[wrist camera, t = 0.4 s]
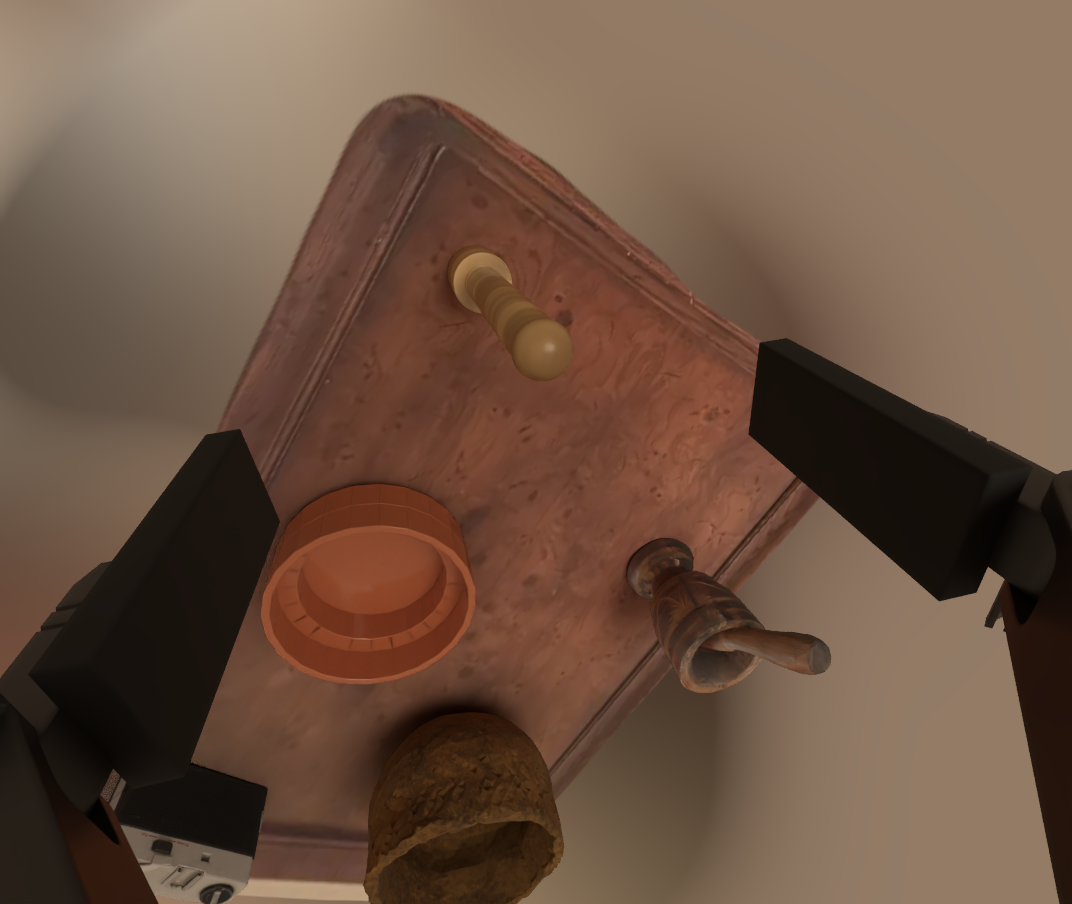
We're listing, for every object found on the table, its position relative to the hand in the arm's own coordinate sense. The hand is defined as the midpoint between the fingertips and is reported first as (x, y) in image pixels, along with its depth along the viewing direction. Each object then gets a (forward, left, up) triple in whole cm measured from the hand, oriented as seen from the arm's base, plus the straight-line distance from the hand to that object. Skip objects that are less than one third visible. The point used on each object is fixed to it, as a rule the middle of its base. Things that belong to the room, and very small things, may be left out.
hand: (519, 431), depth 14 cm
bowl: (+36, -36, -29) cm, 59 cm away
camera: (+17, -56, -29) cm, 66 cm away
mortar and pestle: (+36, -4, -29) cm, 47 cm away
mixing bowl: (+13, -22, -29) cm, 39 cm away
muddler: (+2, +2, -29) cm, 29 cm away
